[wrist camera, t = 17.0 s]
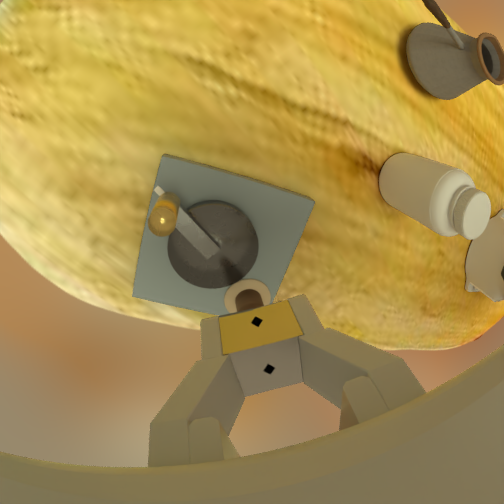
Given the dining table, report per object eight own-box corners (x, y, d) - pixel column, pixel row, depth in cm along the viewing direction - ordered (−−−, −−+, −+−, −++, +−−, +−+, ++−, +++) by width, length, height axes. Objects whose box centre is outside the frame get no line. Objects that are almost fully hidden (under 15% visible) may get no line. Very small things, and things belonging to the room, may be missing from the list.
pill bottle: (416, 206, 39) (488, 249, 26) (373, 206, 38) (446, 254, 25) (423, 154, 36) (503, 182, 22) (379, 149, 34) (462, 175, 21)
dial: (198, 159, 30) (197, 172, 23) (272, 245, 35) (290, 279, 28) (131, 219, 31) (113, 250, 24) (208, 294, 37) (212, 336, 30)
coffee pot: (456, 49, 29) (530, 48, 15) (446, 111, 33) (525, 125, 20) (338, -20, 24) (404, -65, 10) (323, 49, 28) (396, 19, 15)
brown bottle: (265, 292, 38) (281, 337, 30) (256, 312, 39) (269, 359, 31) (239, 286, 37) (250, 332, 29) (231, 308, 38) (240, 355, 30)
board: (309, 197, 36) (316, 202, 34) (260, 314, 42) (263, 325, 40) (164, 153, 31) (161, 156, 29) (134, 288, 37) (131, 298, 35)
